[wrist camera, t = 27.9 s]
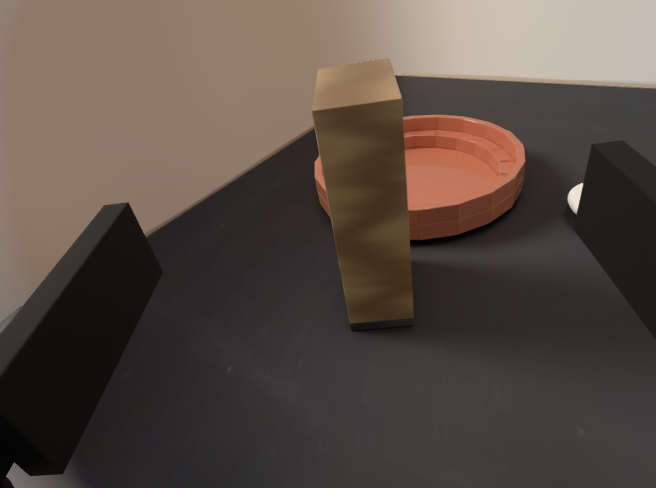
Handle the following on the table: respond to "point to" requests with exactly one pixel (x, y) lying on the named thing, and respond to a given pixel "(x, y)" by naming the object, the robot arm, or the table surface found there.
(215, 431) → the table surface
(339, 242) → the wooden block
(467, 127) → the bowl
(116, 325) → the robot arm
